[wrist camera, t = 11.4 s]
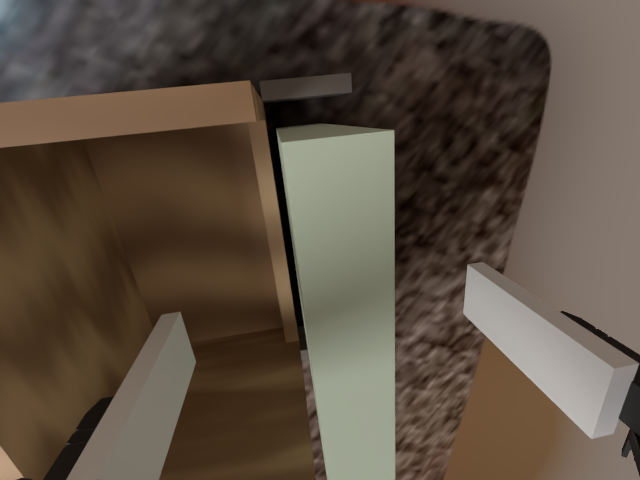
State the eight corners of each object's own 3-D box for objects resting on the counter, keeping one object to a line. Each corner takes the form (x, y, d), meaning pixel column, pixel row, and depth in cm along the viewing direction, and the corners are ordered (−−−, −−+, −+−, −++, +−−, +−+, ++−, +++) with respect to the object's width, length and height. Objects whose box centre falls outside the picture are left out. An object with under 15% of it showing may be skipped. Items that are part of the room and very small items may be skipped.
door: (349, 304, 27) (420, 475, 14) (301, 311, 26) (329, 496, 13) (336, 121, 21) (437, 125, 8) (275, 127, 21) (281, 142, 8)
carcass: (355, 326, 28) (418, 484, 16) (159, 360, 26) (62, 565, 14) (340, 79, 20) (440, 20, 8) (61, 104, 18) (-332, 79, 6)
